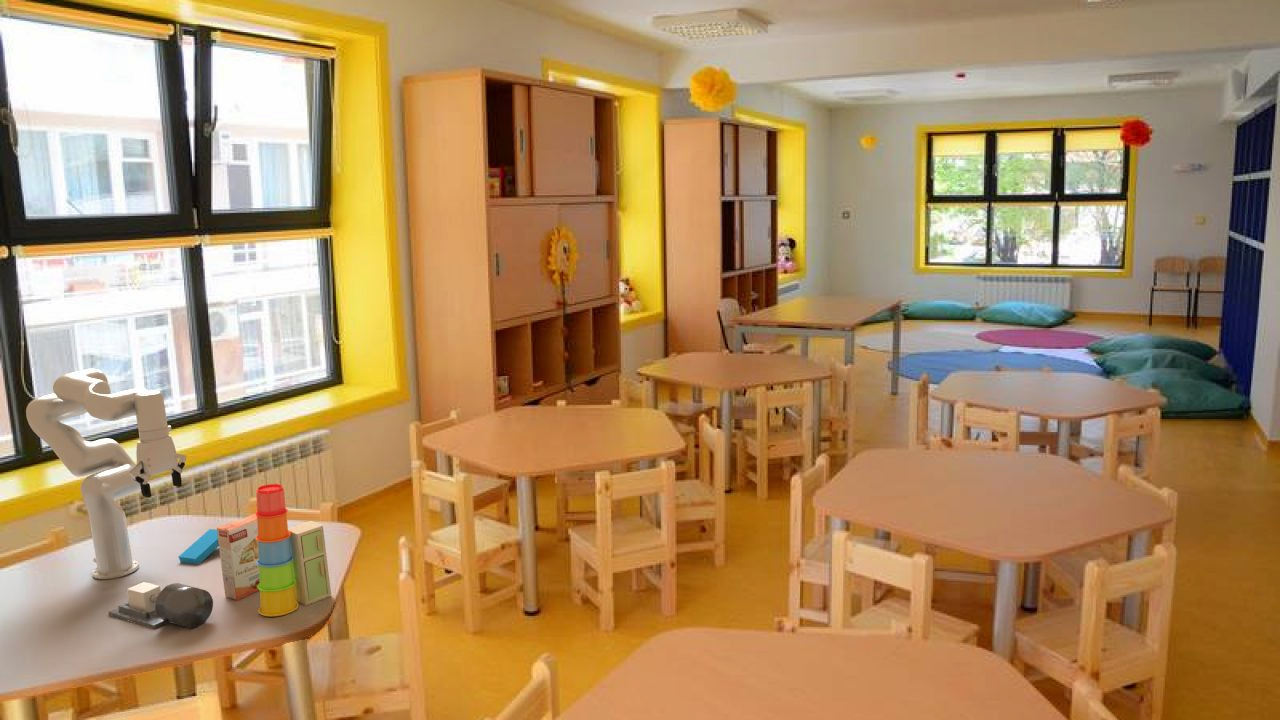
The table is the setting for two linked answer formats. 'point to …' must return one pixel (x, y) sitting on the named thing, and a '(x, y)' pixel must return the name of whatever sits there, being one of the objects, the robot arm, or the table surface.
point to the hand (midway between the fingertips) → (162, 491)
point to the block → (143, 596)
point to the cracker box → (239, 557)
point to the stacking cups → (274, 553)
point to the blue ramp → (201, 548)
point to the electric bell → (171, 608)
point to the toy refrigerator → (309, 562)
